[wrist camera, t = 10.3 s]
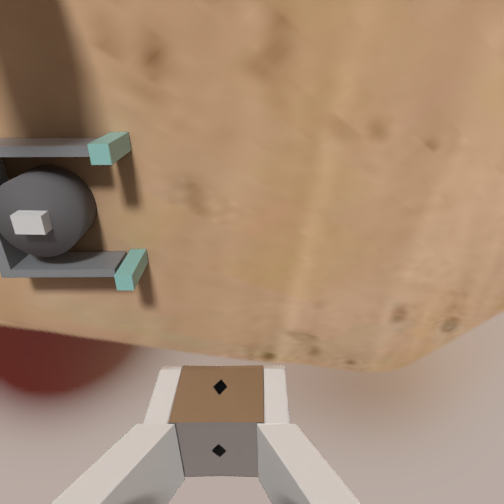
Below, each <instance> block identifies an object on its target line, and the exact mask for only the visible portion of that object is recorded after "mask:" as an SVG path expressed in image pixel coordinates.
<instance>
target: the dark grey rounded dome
mask: <svg viewBox="0 0 504 504" xmlns="http://www.w3.org/2000/svg"><path fill="white" fill-rule="evenodd" d="M96 211H97V208H96V202H95V198H94V196H93V194H92V192H91V190H90V188H89V187H88V186H87V184H86V183H85V182H84V181H83V180H82V179H81V178H80V177H78V176H77V175H76V174H74V173H73V172H71V171H69V170H67V169H65V168H62V167H58V166H52V165H44V166H38V167H35V168H33V169H31V170H29V171H27V172H25V173H23V174H21V175H19V176H17V177H15V178H13V179H11V180H9V181H7V182H5V183H3V184H2V185H1V186H0V233H1V234H2V236H3V237H4V238H5V239H6V240H7V241H8V242H9V243H11V244H12V245H13V246H15V247H16V248H18V249H19V250H21V251H23V252H26V253H28V254H31V255H35V256H40V257H53V256H58V255H61V254H63V253H65V252H67V251H68V250H69V249H70V248H72V247H73V245H74V244H75V243H76V242H77V241H78V240H79V239H80V238H81V237H82V236H83V235H84V234H85V233H86V232H87V231H88V230H89V229H90V227H91V226H92V225H93V223H94V221H95V218H96Z"/></svg>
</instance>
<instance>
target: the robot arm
mask: <svg viewBox="0 0 504 504" xmlns="http://www.w3.org/2000/svg"><path fill="white" fill-rule="evenodd" d="M263 373H264V379H263ZM197 476H243V477H244V476H245V477H259V481H260V482H261V484H262V486H263V488H264V490H265V492H266V494H267V495H268V497H269V499H270V501H271V502H272V504H361V503H360V501H359V500H358V499H357V498H356V496H355V495H354V494H353V493H352V492H351V490H350V489H349V488H348V487H347V486H346V484H345V483H344V482H343V481H342V479H341V478H340V477H339V475H338V474H337V473H336V472H335V471H334V469H333V468H332V467H331V466H330V464H329V463H328V462H327V461H326V459H325V458H324V457H323V456H322V455H321V453H320V452H319V451H318V450H317V448H316V447H315V446H314V445H313V443H312V442H311V441H310V440H309V439H308V437H307V436H306V435H305V434H304V432H303V431H302V430H301V429H300V427H299V426H298V425H297V424H293V423H292V424H291V423H290V418H289V407H288V395H287V383H286V372H285V367H284V365H264V368H263V365H262V366H261V365H260V366H163V367H162V368H161V370H160V372H159V375H158V378H157V381H156V384H155V387H154V390H153V393H152V396H151V400H150V403H149V406H148V409H147V412H146V415H145V418H144V421H143V424H136V425H135V426H133V427H132V428H131V429H130V430H129V431H128V432H127V433H126V434H125V435H124V436H123V437H122V438H121V439H120V440H119V441H117V442H116V443H115V444H114V445H113V446H112V447H111V448H110V449H109V450H108V451H107V452H106V453H105V454H104V455H102V456H101V457H100V458H99V459H98V460H97V461H96V462H95V463H94V464H93V465H92V466H91V467H90V468H89V469H87V470H86V471H85V472H84V473H83V474H82V475H81V476H80V477H79V478H78V479H77V480H76V481H75V482H74V483H72V485H70V486H69V487H68V488H67V489H66V490H65V491H64V492H63V493H62V494H61V495H60V496H59V497H58V498H56V499H55V500H54V501H53V502H52V503H51V504H168V503H169V501H170V500H171V498H172V497H173V496H174V494H175V493H176V491H177V490H178V488H179V487H180V486H181V484H182V483H183V481H184V480H185V478H184V477H197Z"/></svg>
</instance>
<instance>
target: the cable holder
mask: <svg viewBox="0 0 504 504" xmlns="http://www.w3.org/2000/svg"><path fill="white" fill-rule="evenodd" d="M130 151H131V145H130V139H129V132H110V133H108V134H106V135H104V136H102V137H100V138H0V186H1V185H2V184H3V183H5V182H7V181H9V179H8V176H7V173H6V169H5V166H4V163H3V160H2V157H90V160H91V165H112V164H114V163H115V162H116V161H118V160H119V159H120V158H122V157H123V156H124V155H126V154H127V153H128V152H130ZM147 264H148V258H147V251H146V249H131V250H130V251H129V253H128V254H126V251H103V252H65V253H63V254H61V255H58V256H53V257H40V256H35V255H31V254H28V253H26V252H23V251H21V250H19V249H18V248H16V247H15V246H13V245H12V244H11V243H9V242H8V241H7V240H6V239H5V238H4V237H3V236H2V234H1V233H0V273H1V275H2V278H18V277H114V278H115V283H116V288H117V290H135V288H136V286H137V284H138V282H139V280H140V278H141V276H142V274H143V272H144V270H145V268H146V266H147Z"/></svg>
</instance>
